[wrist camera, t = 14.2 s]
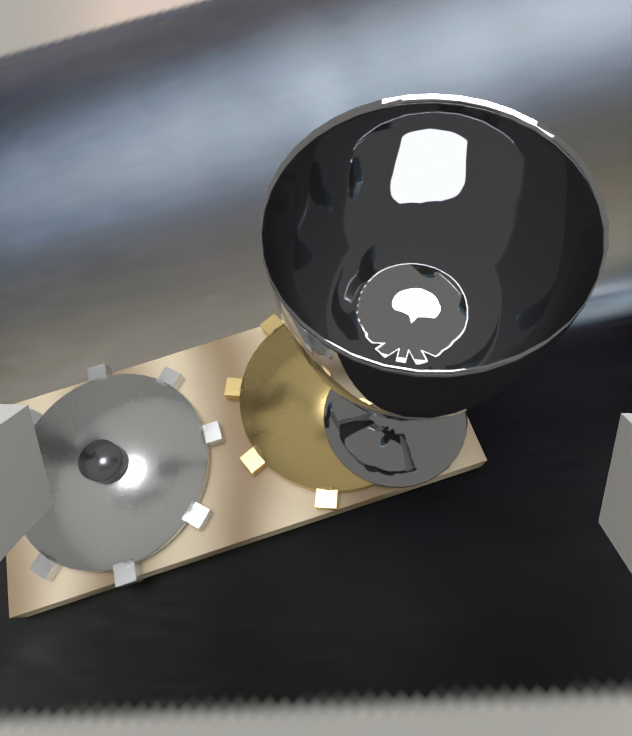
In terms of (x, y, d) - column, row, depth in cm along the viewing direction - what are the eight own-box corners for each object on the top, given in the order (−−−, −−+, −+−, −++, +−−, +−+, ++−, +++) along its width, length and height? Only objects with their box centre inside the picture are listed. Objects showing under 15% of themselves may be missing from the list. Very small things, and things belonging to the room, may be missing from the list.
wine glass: (510, 417, 25) (686, 208, 11) (396, 533, 23) (439, 452, 10) (393, 316, 28) (419, 50, 14) (283, 414, 26) (191, 219, 12)
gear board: (28, 623, 25) (-20, 627, 22) (15, 412, 30) (-26, 391, 27) (483, 472, 26) (499, 456, 23) (401, 290, 31) (405, 256, 28)
